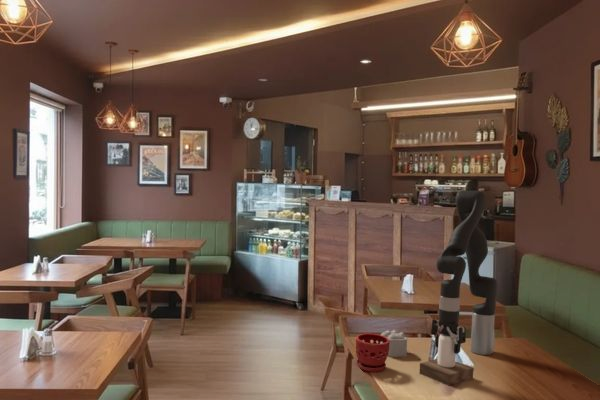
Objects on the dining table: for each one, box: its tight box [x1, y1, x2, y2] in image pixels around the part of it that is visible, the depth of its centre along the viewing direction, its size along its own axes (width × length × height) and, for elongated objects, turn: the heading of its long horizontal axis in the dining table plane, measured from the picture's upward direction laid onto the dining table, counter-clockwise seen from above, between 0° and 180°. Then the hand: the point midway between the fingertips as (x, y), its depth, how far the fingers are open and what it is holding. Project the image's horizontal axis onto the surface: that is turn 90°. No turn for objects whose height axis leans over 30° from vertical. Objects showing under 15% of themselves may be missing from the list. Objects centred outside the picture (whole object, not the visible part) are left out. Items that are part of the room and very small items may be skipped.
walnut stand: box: [419, 358, 474, 386], centre depth 203 cm, size 14×14×4 cm
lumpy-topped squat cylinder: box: [380, 329, 408, 358], centre depth 230 cm, size 10×13×9 cm
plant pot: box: [355, 332, 390, 373], centre depth 208 cm, size 13×13×12 cm
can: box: [437, 333, 457, 368], centre depth 203 cm, size 6×6×12 cm
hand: (447, 350), depth 203 cm, fingers open, 8 cm apart
